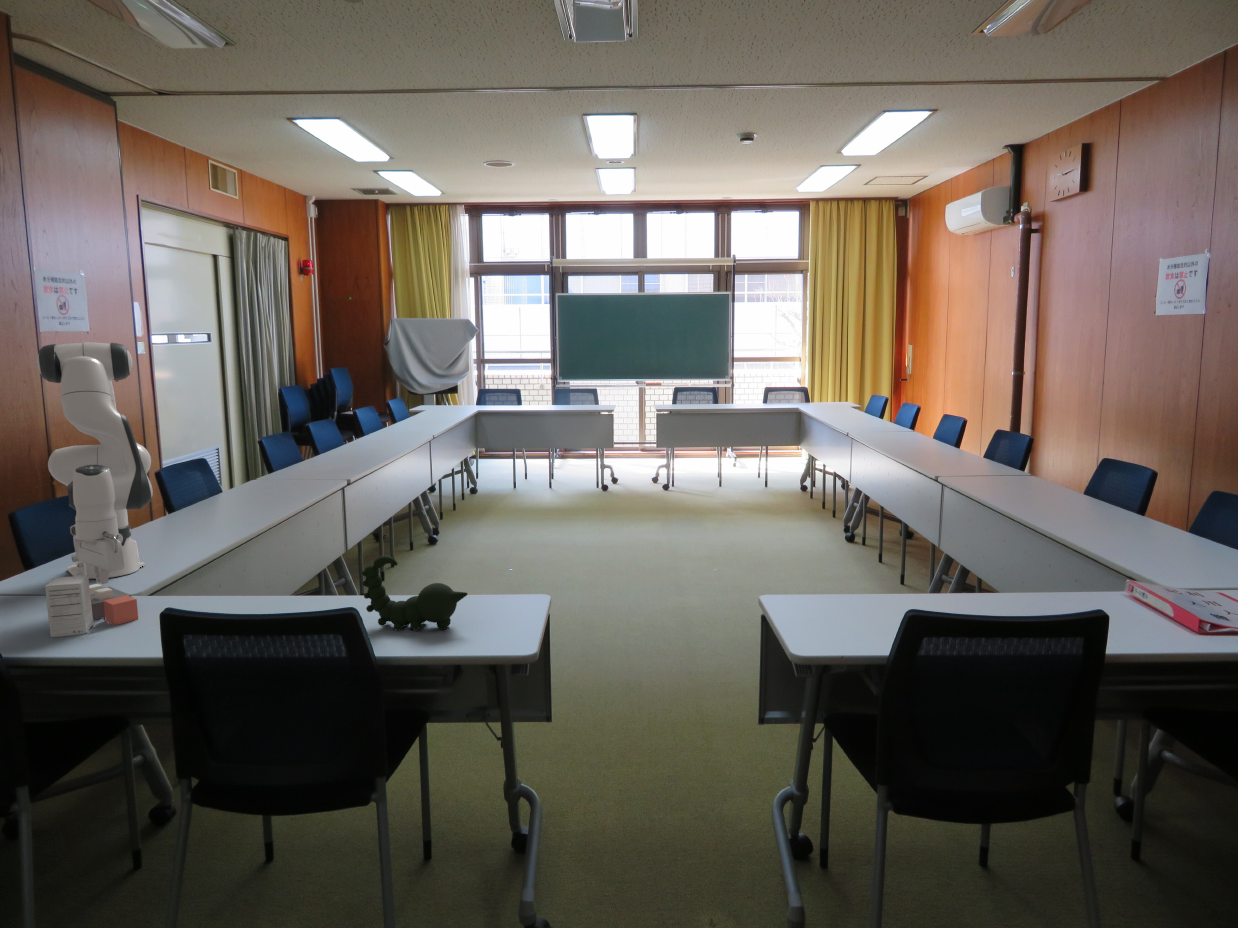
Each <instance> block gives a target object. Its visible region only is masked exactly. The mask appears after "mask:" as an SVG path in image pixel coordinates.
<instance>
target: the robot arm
mask: <svg viewBox="0 0 1238 928" xmlns="http://www.w3.org/2000/svg"><path fill="white" fill-rule="evenodd" d="M133 362H134V360H133V357H132V355H131V352H130V351H129V350H128V347H127V346H125V345H124V344H122V343H117V342H111V343H106V342H94V341H93V342H91V341H83V342H73V343H72V342H71V343H63V344H56V343H52V344H51V343H50V344H47V345H43V346H42V347H41V348H39V350H38V354H37V356H36V367H37V370H38V372H39V374H40V375H41V377H42V378H43V379H44V380H45V381H48V382H49V383H50V382H51V383H53V384H54V383H56V384H60V401H61V407H62V410H63V415H64V418H65V419H66V420H67V421H68V422H69V423H70V424H71V425H72V426H74V427H75V429H76V430H78V431H79V432H80V433H83V434H85V435H88V436H91V437H93V438H95V440H97V441H98V442H99V444H85V445H71V446H66V447H65V446H64V447H61V448H56V449H55V450H54V451H53V452H52V453H51V454H50V456H49V459H48V460H47V467H48V471H49V473H50V475H51V477H53V479H55V480H56V481H58V482H59V483H60V484H63V485H65V486H66V490H67V494H68V495H67V496H68V506H69V507H70V508H72V509H73V510H75V512H76V513H75V514H76V515H75V518H74V519H75V521H74V522H75V524H73V525H71V526H69V529H70V535H72V536H73V537H72V539H73V546H74V552H75V553H74V554H71V557H70V558H71V562H72V563H75V564H72V565H70V566H67V571H68V572H69V574H70V575H71V576H82V575H88V579H89V580H91V579H95V582H96V583H97V584H100V585H104V584H108V583H109V581H110V580H109V578H110V579H111V578H115V577H116V578H117V577H121V576H126V575H129V574H132V573H135V572H137V571H138V570H139V569H141V568H143V567H145V566H146V565H145V562H144V561H140V555H139V549H138V543H137V541H136V540H135V539H133V538H131V536H132V528H131V524H130V523H129V517H128V510H141V509H144V508H145V507H146V506H147V505H148V504H149V503H151V501H152V500H153V495H154V494H153V493H154V491H153V485H152V483H151V480H150V478H149V477H148V472H149V471H150V469H151V465H152V457H151V454H150V452H149V451H148V450H147V448H146V447H144V446H143V445H142V444H140V443H138V442H137V441H136V438H135V434H134V431H133V429H132V427H131V424H130V422H129V419H128V418H127V416H126V415H125V414H123V413H119V411H118V409H117V404H116V397H115V395H116V394H115V390H114V385H113V381H115V382H116V383H117V382H119V381H122V380H125V379H127V378H128V377H129V376H131V372H132V370H133V366H134V363H133ZM144 565H145V566H144ZM142 566H143V567H142ZM140 567H141V568H140Z"/></svg>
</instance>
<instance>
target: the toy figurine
mask: <svg viewBox="0 0 1238 928" xmlns="http://www.w3.org/2000/svg"><path fill="white" fill-rule="evenodd" d="M388 564H389V565H390V564H391V565H394V566H398V561H397V560H396V559H395V558H393V557H392V556H390V555H381V556H377V557H376V558H375V560H374V561H373V564H369V565H367V566H366V567H364V569H363V570H362V572H361V575H362V576H364V577H365V579H364V580H363V581H362V586H363V587H366V588H368V589H367V592H365V593H364V594H363V598H365V600H366V599H370V604H369V605H367V606H366V611H367V612H368V613H371V612H373V611H374V612H376V613H378V615H379V618H378V619H377V623H378V626H381V627H383V626H385V625H387V622H389V623H391V624H393V628H394V629H393V630H396V631H397V632H398V631H401V630H402V628H403V627H406V626H408V625H409V627H410V628H411V629H412V630H415V631H417V630H418V629H420V628H421V626H422V624H425V622H426V621H427V622H429V623H434V624H435V623H436V627H437V628H438V629H440V630H445V629H448V627H449V626H450V625H451V622H452V620H451V617H452V616H453V615H454V613H455V611H456V609H457V605H458V602H460V601H461V600H463V599H464V598H465V597H467V596H468V592H465V591H464V592H463V591H456V590H455V591H454V590H453V589H452V588H451V587H450V586H448V585H447V584H445V583H442V582H433V583H431V584H428V585H426V586H425V587H423V588H422V589H421V591H420V592H419V593H418V594H417V595H414V596H411V597H409V598H407V599H406V600H398V601H395V600H391V598H390V596H389V595H388V594H387V590H386V588H385V586H384V585H383V579H382V576H381V575H380V574H379V573H380V569H382V568H383V567H384V566H385V565H388Z"/></svg>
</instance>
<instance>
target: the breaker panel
mask: <svg viewBox="0 0 1238 928" xmlns="http://www.w3.org/2000/svg"><path fill="white" fill-rule="evenodd" d="M104 588H110V589H112V591H113V598H117V597H121V596H126V595H128V596H130V597H132V594H129V593H127V592H124V591H121V590H119V589H116V588H114V587H112V586H105V587H104ZM90 597H91V607H92V616H93V621H94V620H97V619H102V618H105V612H104V602H103V601H104V600H108V599H104V600H100V601H99V600H97V599H95V595H93V596H90ZM113 598H109V599H113Z"/></svg>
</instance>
